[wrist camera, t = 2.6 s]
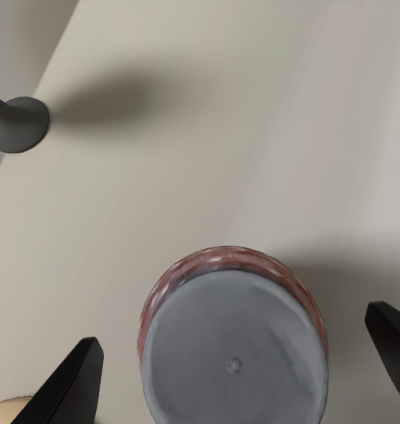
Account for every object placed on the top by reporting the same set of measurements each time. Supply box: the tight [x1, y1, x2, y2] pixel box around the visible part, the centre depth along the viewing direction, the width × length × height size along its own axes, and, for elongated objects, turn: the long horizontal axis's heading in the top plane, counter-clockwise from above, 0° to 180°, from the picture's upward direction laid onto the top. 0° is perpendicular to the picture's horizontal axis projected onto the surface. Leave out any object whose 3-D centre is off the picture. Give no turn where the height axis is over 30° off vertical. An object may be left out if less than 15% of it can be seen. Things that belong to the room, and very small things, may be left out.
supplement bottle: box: [137, 246, 329, 424], centre depth 11 cm, size 6×6×11 cm
